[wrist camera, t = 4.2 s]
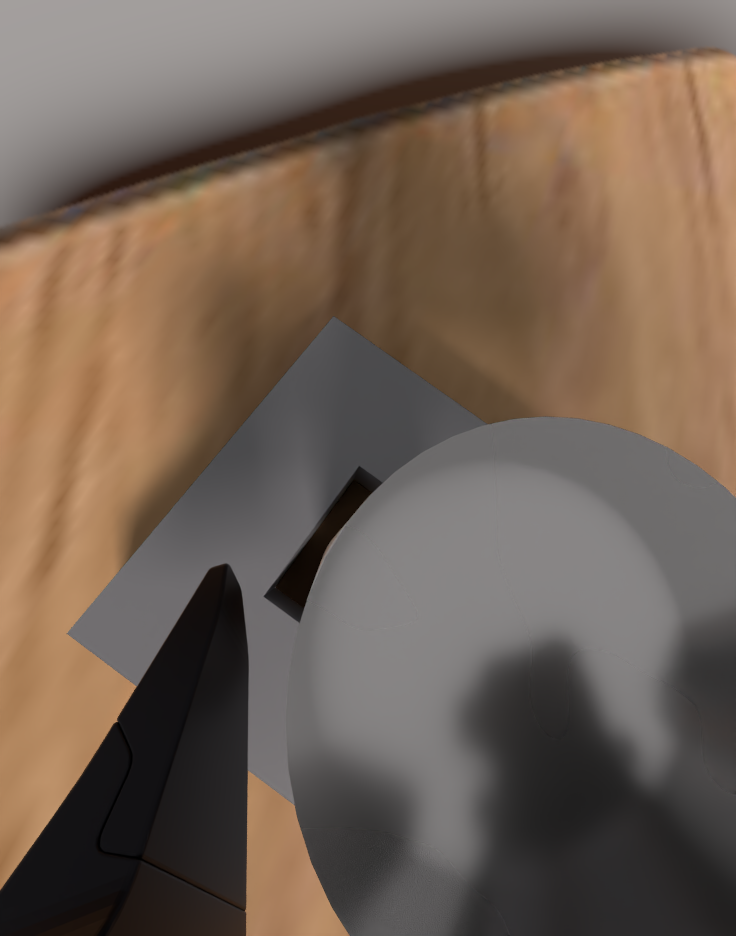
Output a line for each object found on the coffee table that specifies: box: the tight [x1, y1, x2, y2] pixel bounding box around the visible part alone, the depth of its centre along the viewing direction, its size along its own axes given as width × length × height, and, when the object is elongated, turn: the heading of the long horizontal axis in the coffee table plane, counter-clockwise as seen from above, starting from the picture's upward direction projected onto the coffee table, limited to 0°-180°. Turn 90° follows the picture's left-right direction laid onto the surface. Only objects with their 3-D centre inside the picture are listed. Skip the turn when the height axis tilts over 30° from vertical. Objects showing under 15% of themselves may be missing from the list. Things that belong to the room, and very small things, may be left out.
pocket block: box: [67, 316, 488, 805], centre depth 15 cm, size 14×14×3 cm
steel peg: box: [286, 417, 736, 936], centre depth 9 cm, size 4×4×14 cm
